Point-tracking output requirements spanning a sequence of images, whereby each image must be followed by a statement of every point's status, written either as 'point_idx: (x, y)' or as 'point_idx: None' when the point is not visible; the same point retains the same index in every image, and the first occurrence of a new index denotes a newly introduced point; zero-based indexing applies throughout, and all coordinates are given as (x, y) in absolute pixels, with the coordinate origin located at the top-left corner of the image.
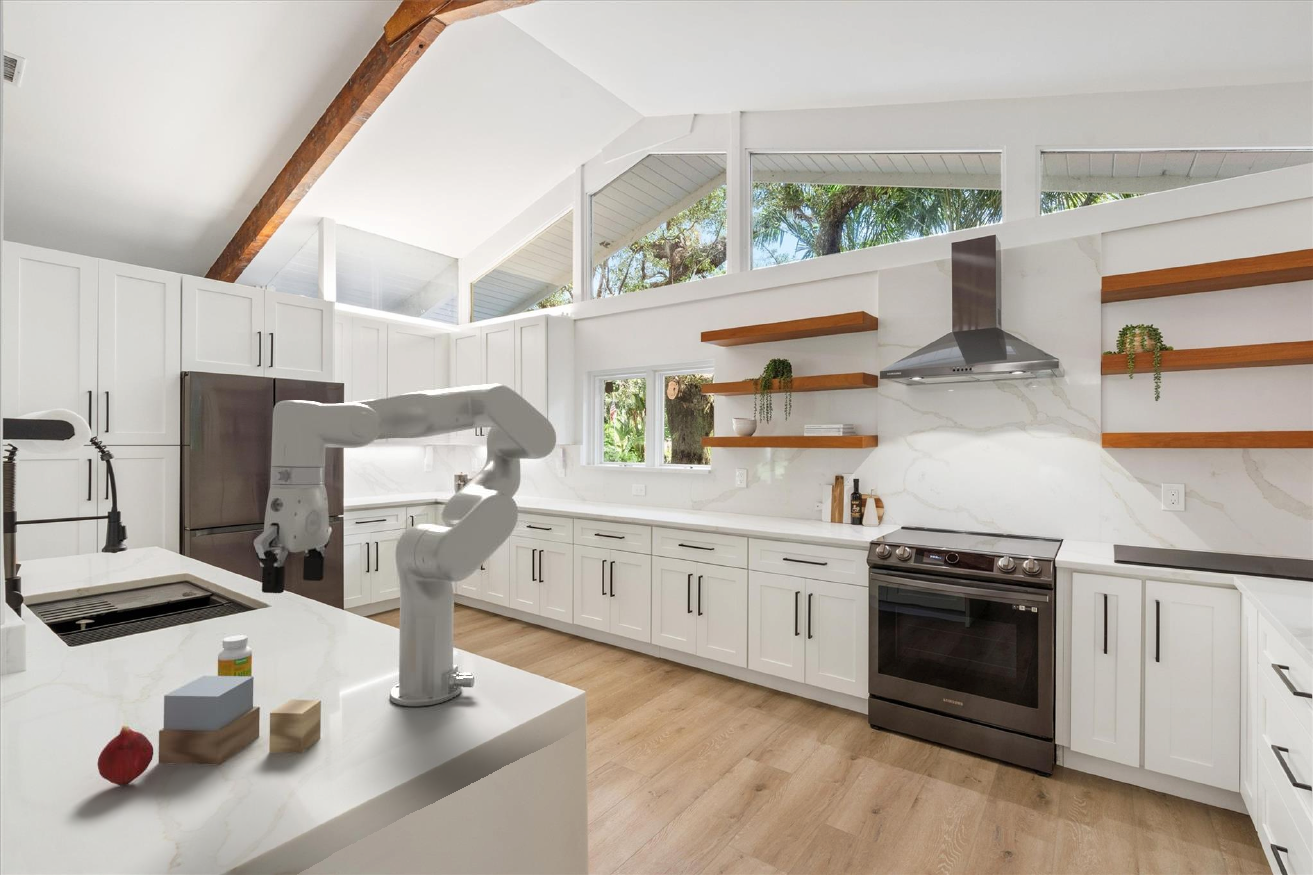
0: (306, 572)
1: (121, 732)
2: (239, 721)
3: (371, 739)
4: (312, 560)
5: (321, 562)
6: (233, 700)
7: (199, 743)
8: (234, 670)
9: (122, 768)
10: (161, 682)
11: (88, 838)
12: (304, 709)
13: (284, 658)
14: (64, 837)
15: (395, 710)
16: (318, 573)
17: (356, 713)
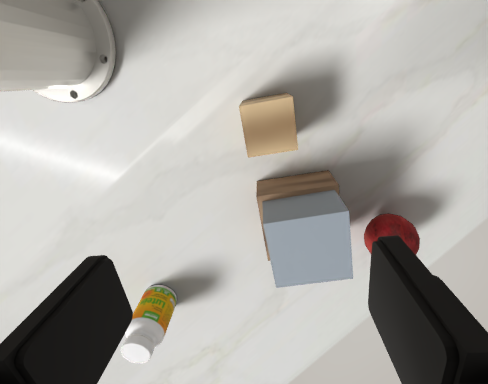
0: (114, 333)
1: None
2: (297, 189)
3: (228, 15)
4: (61, 375)
5: (39, 326)
6: (308, 207)
7: None
8: (162, 310)
9: (411, 223)
10: (174, 363)
11: (478, 168)
12: (276, 105)
13: None
14: (474, 191)
15: (131, 51)
16: (93, 285)
17: (162, 106)
